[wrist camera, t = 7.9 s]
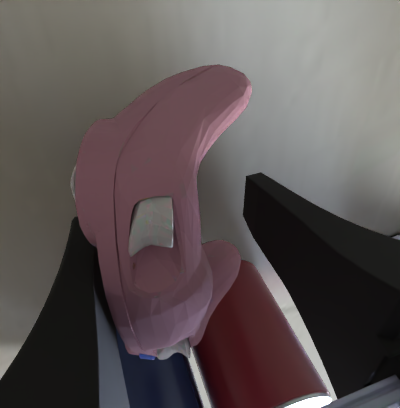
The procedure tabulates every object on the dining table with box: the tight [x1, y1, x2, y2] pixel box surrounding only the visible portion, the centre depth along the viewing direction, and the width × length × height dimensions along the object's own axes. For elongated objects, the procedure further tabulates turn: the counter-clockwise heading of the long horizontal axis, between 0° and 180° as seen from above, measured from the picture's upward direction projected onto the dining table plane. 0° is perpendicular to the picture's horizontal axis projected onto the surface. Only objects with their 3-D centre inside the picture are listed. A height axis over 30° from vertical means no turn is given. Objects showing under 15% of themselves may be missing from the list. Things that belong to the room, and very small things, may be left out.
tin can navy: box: [116, 328, 204, 408], centre depth 19 cm, size 6×6×9 cm
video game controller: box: [70, 65, 252, 360], centre depth 12 cm, size 10×5×7 cm, turn 3°
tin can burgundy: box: [191, 260, 331, 408], centre depth 21 cm, size 6×6×9 cm
